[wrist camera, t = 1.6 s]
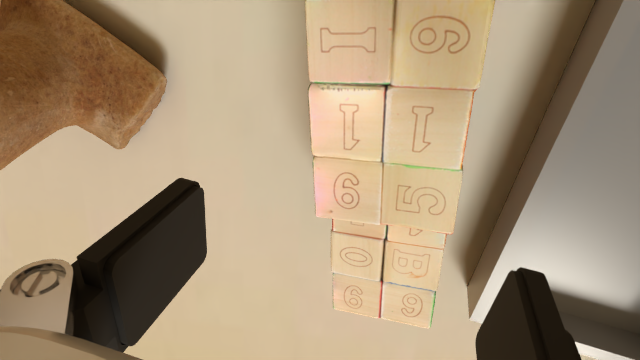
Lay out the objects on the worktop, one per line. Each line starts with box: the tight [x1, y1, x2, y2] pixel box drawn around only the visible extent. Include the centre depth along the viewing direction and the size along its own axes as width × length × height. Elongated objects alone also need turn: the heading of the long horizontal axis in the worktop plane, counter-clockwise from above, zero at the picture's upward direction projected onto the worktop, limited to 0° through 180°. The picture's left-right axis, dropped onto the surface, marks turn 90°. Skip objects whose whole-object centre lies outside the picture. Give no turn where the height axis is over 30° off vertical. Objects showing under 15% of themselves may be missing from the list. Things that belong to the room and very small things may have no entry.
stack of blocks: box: [305, 0, 495, 329], centre depth 20 cm, size 21×6×12 cm, turn 1°
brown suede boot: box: [0, 0, 167, 170], centre depth 26 cm, size 15×12×15 cm
